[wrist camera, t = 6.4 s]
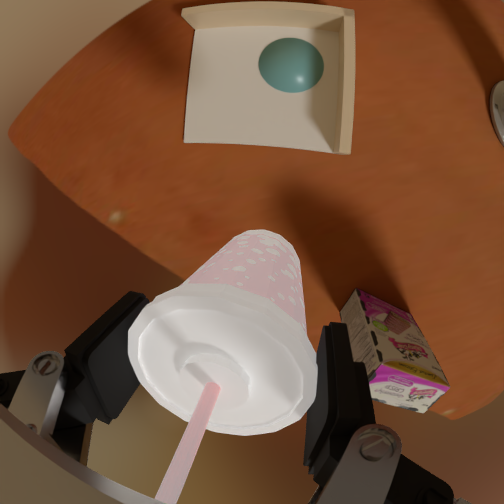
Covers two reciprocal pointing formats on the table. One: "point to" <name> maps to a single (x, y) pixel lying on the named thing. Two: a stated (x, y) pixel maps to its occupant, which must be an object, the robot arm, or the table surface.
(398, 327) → the candy bar box
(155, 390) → the beverage cup
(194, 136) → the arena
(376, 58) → the table surface
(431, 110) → the table surface
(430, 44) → the table surface
